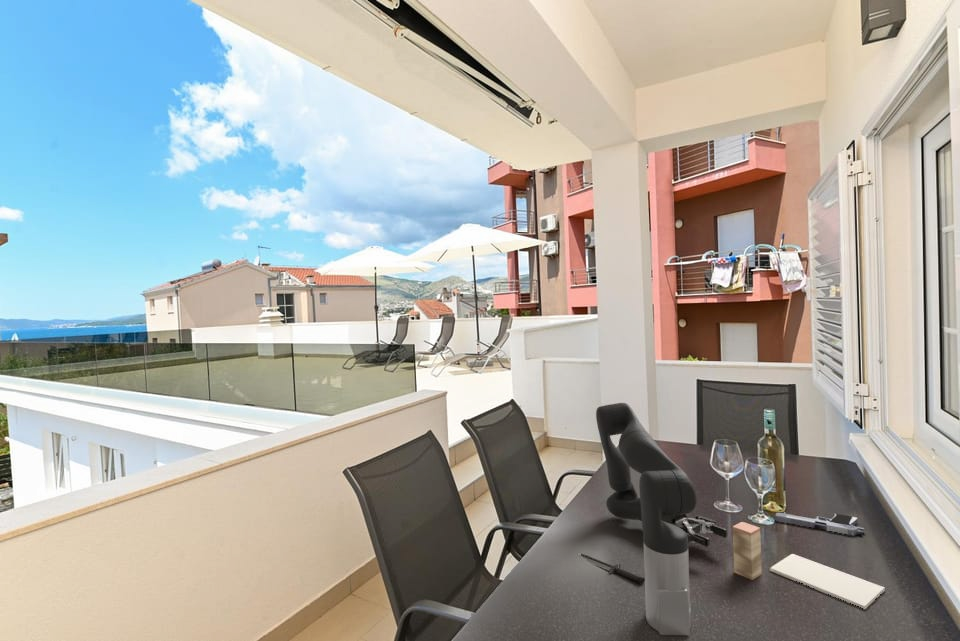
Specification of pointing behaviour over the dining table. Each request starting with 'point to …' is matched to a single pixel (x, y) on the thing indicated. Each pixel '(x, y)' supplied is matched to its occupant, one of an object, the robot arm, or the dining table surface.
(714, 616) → the dining table surface
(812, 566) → the mat
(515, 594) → the dining table surface
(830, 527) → the handgun
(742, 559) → the maple block
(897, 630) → the dining table surface
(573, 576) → the dining table surface
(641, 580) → the knife
